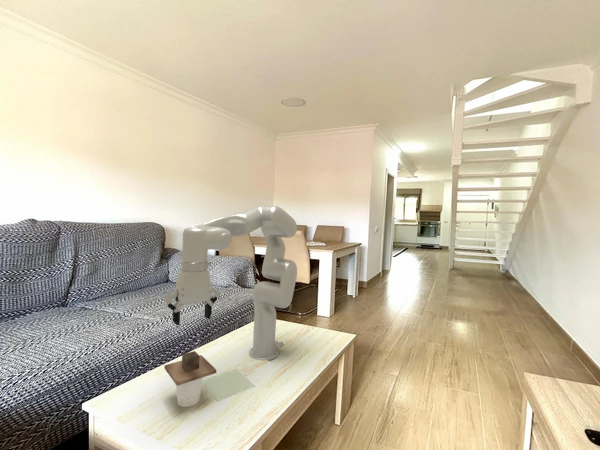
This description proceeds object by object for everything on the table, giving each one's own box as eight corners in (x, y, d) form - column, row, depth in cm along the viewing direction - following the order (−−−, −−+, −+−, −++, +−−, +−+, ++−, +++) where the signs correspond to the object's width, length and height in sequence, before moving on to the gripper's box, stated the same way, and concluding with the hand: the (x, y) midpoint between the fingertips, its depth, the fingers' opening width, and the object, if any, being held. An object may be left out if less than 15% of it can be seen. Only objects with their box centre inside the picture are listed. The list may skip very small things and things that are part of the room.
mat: (236, 370, 111) (236, 369, 111) (255, 387, 101) (255, 386, 100) (200, 382, 102) (200, 380, 102) (217, 402, 91) (217, 401, 91)
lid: (201, 357, 100) (201, 343, 99) (216, 372, 91) (217, 357, 90) (164, 368, 92) (165, 352, 92) (176, 386, 83) (177, 368, 83)
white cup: (192, 412, 87) (194, 379, 86) (169, 407, 88) (170, 375, 88) (206, 396, 94) (207, 366, 94) (184, 392, 96) (186, 362, 96)
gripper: (215, 263, 99) (213, 312, 99) (161, 267, 88) (159, 322, 88) (225, 266, 93) (223, 318, 94) (169, 271, 82) (167, 330, 82)
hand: (192, 320), depth 91 cm, fingers open, 9 cm apart
